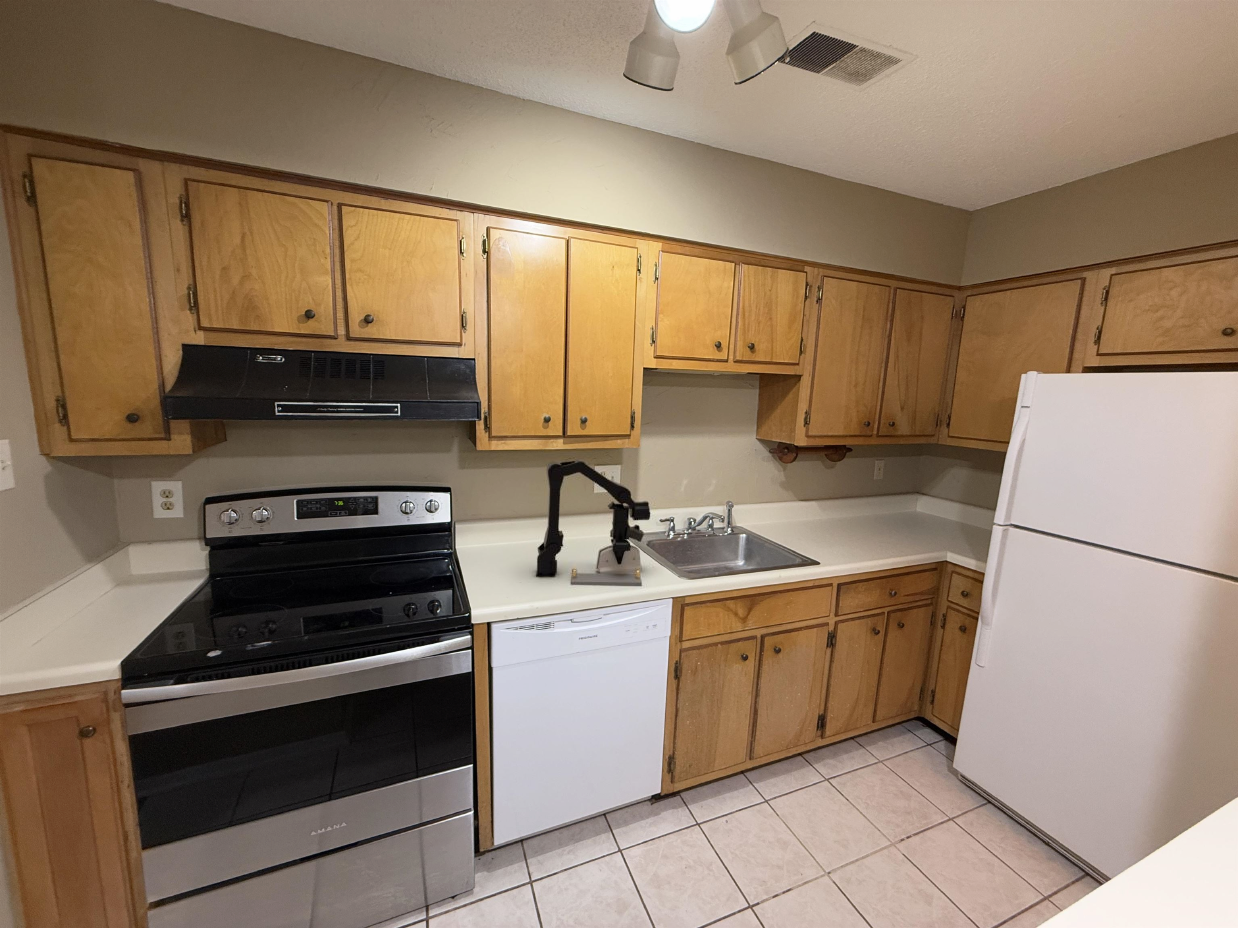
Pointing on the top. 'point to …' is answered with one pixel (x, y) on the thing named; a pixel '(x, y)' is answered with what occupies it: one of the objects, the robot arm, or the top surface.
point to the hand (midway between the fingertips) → (619, 562)
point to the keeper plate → (606, 579)
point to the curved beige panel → (610, 565)
